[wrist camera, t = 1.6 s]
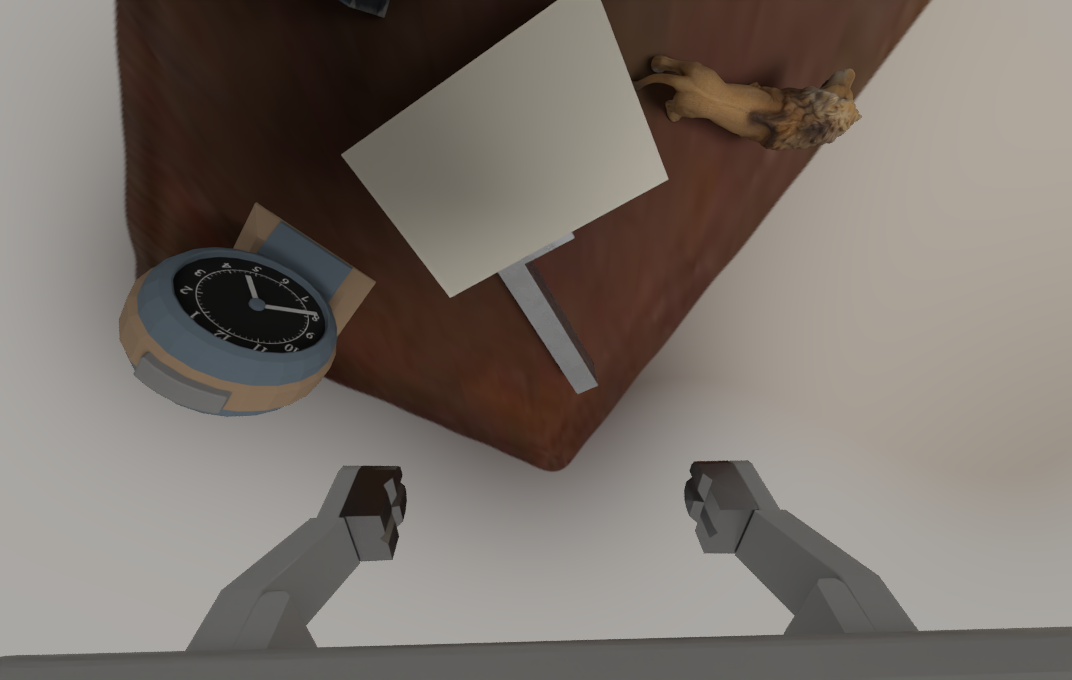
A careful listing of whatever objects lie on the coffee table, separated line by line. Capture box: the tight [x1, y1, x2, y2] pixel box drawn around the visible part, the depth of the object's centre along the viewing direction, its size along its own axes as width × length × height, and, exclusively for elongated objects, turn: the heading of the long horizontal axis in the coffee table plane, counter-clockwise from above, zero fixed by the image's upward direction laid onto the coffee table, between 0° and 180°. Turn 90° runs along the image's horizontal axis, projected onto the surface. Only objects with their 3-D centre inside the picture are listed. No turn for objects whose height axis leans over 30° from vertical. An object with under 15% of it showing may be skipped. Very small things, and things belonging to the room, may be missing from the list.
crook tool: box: [498, 231, 598, 394], centre depth 42 cm, size 8×18×4 cm, turn 29°
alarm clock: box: [119, 202, 376, 416], centre depth 35 cm, size 14×10×18 cm
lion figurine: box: [632, 56, 862, 151], centre depth 31 cm, size 15×5×9 cm, turn 85°
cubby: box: [341, 0, 668, 298], centre depth 32 cm, size 18×12×10 cm, turn 120°
